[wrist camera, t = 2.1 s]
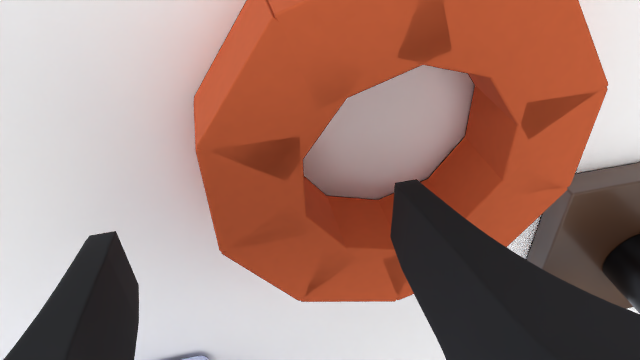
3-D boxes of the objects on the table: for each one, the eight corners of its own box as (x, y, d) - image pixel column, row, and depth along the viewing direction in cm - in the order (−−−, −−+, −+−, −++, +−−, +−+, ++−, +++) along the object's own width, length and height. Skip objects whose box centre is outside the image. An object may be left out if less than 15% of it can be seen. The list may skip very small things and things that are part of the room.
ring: (502, 224, 22) (538, 271, 19) (233, 277, 20) (239, 335, 17) (596, -98, 14) (674, -80, 11) (157, -62, 12) (151, -32, 9)
